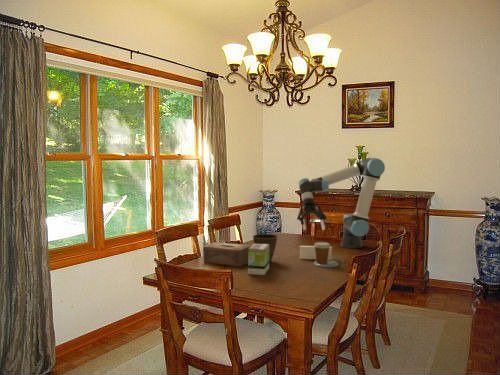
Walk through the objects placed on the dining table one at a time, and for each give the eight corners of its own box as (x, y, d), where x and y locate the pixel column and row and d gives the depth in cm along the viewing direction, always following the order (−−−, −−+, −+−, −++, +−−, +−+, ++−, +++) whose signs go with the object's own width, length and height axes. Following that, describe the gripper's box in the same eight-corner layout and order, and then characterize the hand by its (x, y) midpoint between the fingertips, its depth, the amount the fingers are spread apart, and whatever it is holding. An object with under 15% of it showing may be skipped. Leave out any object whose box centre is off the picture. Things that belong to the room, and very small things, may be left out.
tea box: (265, 275, 236) (265, 249, 235) (247, 274, 238) (247, 248, 237) (269, 268, 251) (269, 243, 250) (252, 267, 253) (252, 242, 252)
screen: (299, 258, 272) (299, 246, 272) (299, 258, 274) (300, 245, 274) (331, 259, 269) (331, 247, 268) (331, 259, 271) (331, 246, 270)
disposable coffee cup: (312, 261, 263) (312, 241, 262) (327, 260, 264) (327, 241, 263) (315, 265, 254) (316, 245, 253) (331, 264, 254) (331, 244, 253)
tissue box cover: (251, 261, 268) (250, 245, 268) (240, 266, 255) (240, 250, 255) (215, 257, 280) (215, 242, 279) (203, 262, 267) (203, 246, 266)
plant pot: (264, 257, 277) (264, 232, 276) (282, 261, 267) (282, 236, 265) (248, 261, 267) (248, 236, 265) (265, 265, 256) (265, 239, 255)
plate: (326, 259, 269) (326, 258, 269) (344, 265, 257) (344, 263, 257) (308, 263, 261) (308, 262, 261) (325, 268, 248) (325, 267, 248)
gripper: (322, 203, 291) (329, 231, 281) (288, 202, 283) (294, 231, 273) (327, 197, 285) (334, 226, 275) (292, 196, 277) (299, 226, 267)
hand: (314, 229), depth 274 cm, fingers open, 13 cm apart
